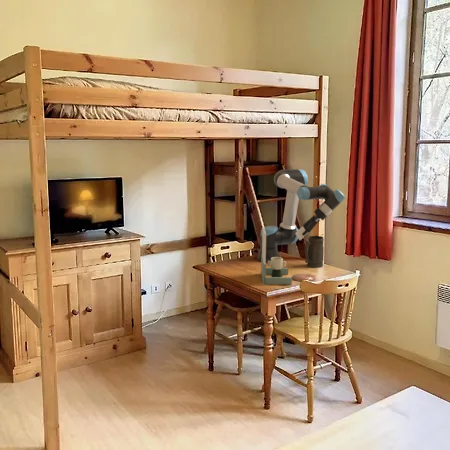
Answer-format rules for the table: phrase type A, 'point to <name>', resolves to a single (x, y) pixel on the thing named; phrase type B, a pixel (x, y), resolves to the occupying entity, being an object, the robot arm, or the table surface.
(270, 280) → the grey-green stand
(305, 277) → the terracotta saucer
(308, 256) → the beer stein
